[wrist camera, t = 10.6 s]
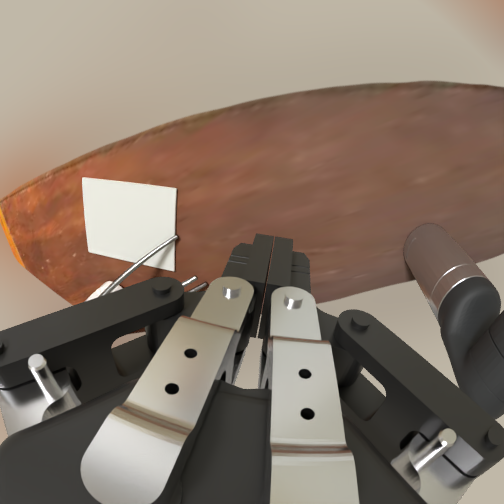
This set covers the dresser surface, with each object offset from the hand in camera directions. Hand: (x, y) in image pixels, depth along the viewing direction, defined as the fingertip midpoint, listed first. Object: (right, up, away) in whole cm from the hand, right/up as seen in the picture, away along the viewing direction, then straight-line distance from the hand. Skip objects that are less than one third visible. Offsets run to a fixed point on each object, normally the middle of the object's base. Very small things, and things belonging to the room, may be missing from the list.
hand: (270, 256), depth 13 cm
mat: (-24, +6, +41) cm, 48 cm away
